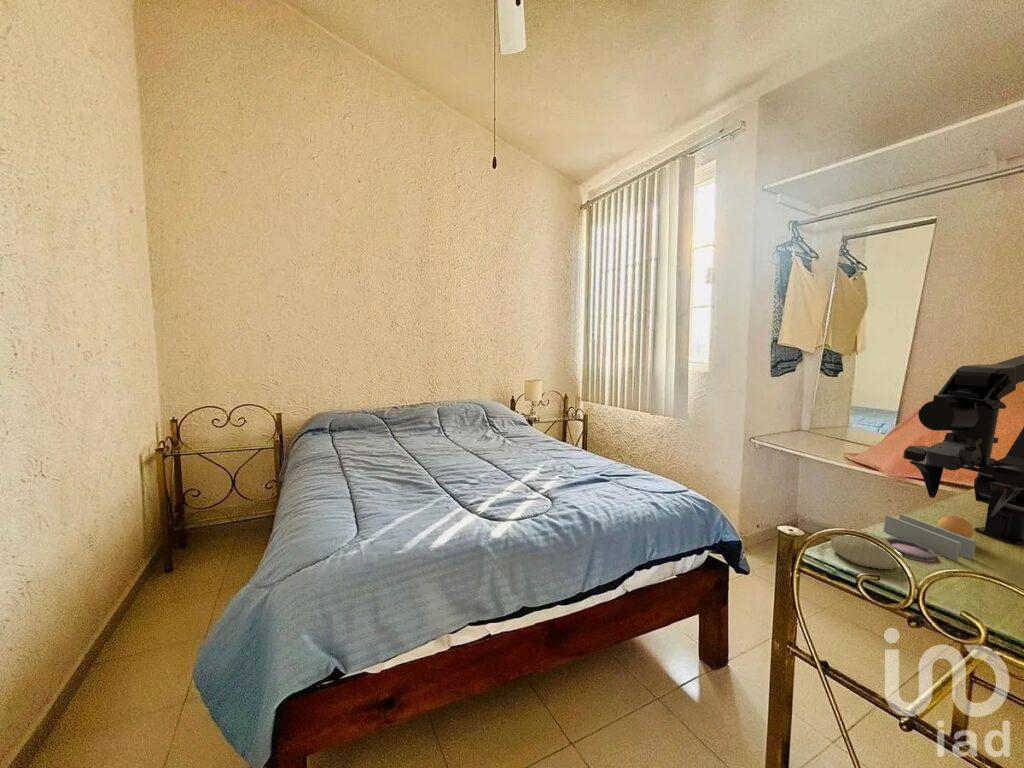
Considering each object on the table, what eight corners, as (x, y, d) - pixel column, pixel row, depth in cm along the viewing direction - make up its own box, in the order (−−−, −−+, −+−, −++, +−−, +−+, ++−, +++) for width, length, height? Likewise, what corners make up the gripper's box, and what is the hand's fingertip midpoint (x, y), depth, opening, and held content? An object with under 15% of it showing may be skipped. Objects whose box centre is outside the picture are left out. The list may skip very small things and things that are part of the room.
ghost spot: (900, 539, 84) (900, 536, 84) (947, 559, 76) (947, 555, 76) (871, 542, 82) (871, 538, 82) (916, 563, 75) (917, 559, 74)
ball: (946, 533, 88) (950, 510, 87) (977, 545, 83) (982, 521, 82) (929, 535, 87) (933, 512, 86) (960, 547, 82) (964, 522, 81)
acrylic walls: (899, 529, 89) (902, 513, 88) (973, 559, 77) (976, 541, 77) (883, 531, 88) (885, 515, 87) (955, 561, 76) (958, 543, 76)
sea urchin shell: (846, 532, 82) (885, 516, 76) (875, 574, 77) (918, 561, 71) (815, 538, 78) (853, 522, 73) (843, 582, 74) (886, 569, 68)
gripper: (889, 420, 89) (879, 491, 91) (1010, 443, 71) (994, 530, 73) (927, 420, 92) (916, 488, 94) (1053, 442, 74) (1037, 526, 76)
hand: (959, 506), depth 84 cm, fingers open, 9 cm apart
